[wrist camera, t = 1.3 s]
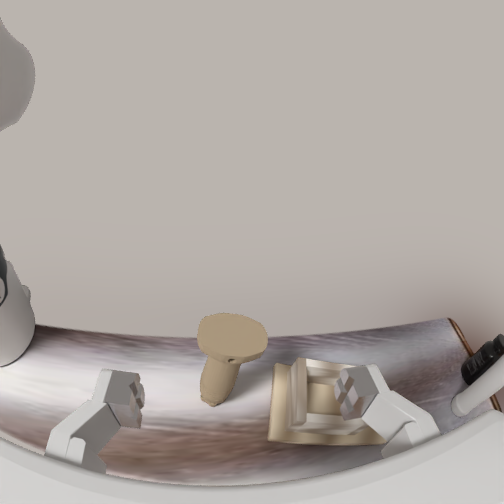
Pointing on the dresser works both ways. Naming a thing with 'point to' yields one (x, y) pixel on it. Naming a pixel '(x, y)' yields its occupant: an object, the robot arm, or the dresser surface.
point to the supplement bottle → (483, 359)
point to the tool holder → (313, 407)
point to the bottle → (479, 390)
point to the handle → (227, 352)
